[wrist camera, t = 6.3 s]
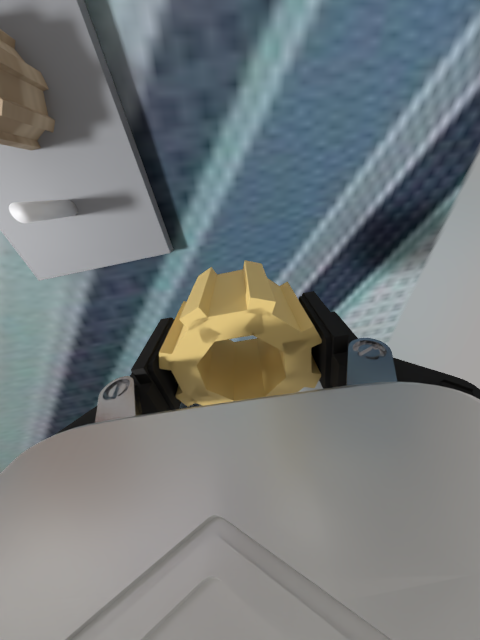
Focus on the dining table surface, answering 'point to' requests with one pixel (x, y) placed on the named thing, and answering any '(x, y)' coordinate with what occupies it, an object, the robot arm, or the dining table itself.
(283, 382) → the ochre gear
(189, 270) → the dining table surface
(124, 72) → the dining table surface
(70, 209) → the gear board
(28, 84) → the beech gear
